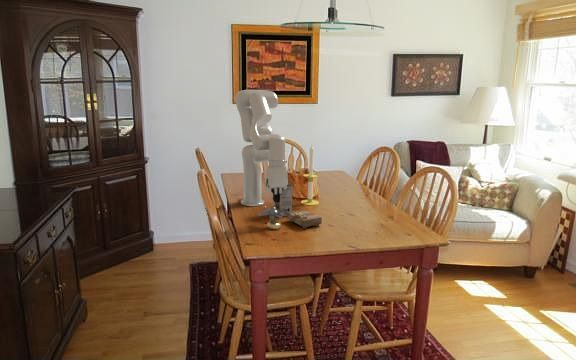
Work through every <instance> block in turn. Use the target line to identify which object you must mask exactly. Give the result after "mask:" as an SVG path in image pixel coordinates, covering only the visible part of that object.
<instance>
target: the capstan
mask: <svg viewBox="0 0 576 360" xmlns="http://www.w3.org/2000/svg"><path fill="white" fill-rule="evenodd" d="M261 208H262V210H263V211H262V212H258V213H257V217H263V216H269V221H268V222H267V224H266V225H267V229H269V230H279V229H281V224H282V223H281V222H280V221H276V218H279V219H283V216H282V215H280V214H278V213H282V212H287V209H281V210H277V209H275V205H274V206H270V207H269V208H268V207H267V206H266V205H263V206H262V207H261ZM264 211H265V212H264Z"/></svg>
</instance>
